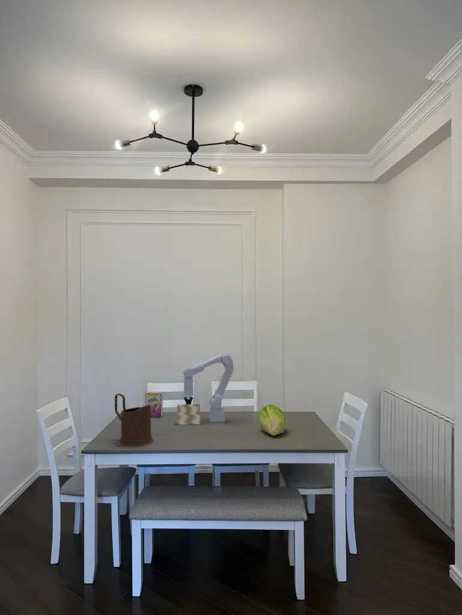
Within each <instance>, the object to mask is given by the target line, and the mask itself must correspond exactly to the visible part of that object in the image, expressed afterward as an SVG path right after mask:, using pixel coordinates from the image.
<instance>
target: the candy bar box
mask: <svg viewBox="0 0 462 615" xmlns="http://www.w3.org/2000/svg"><path fill="white" fill-rule="evenodd" d="M163 394H164V393H163V391H146V392H145V393H144V402H145V403H144V406H146V405H151V418H162V417H164V416H163V415H164V414H163V413H164V412H163V411H164V409H163V408H164V407H163V405H164V404H163V403H164V400H163V398H164V397H163V396H164V395H163Z"/></svg>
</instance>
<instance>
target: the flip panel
mask: <svg viewBox="0 0 462 615" xmlns="http://www.w3.org/2000/svg"><path fill="white" fill-rule="evenodd" d="M176 406H177V407H176V409H177V410H176V422H177V425H179V426H182V425H183V426H184V425H185V426H186V425H201V404H200V403H191V404H186V403H185V404H176ZM177 425H176V426H177Z"/></svg>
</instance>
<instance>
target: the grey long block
mask: <svg viewBox="0 0 462 615" xmlns="http://www.w3.org/2000/svg"><path fill="white" fill-rule="evenodd" d="M203 423H204V421H203V420H200V425H203ZM174 426H177V421H174Z"/></svg>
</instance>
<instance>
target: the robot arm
mask: <svg viewBox="0 0 462 615" xmlns="http://www.w3.org/2000/svg"><path fill="white" fill-rule="evenodd" d="M214 364H222V365H223V367H224V369H225V370H224V372H223V374H222V376H221V378H220V381H219V384H218V385H217V388H216V391H215V392H214V393H213V395H212V397H211V398H210V399H209V405H210V407H209V421H210V422H211V423H219V422H223V424H225V422H226V421H225V420H226V418H225V417H226V416H225V408H222V407H221V406H222V401H223V396H224V393H225V391H226V389H227V387H228V385H229V382H230V380H231V377H232V374H233V373H234V370H235V369H234V360H233V358H232V356H231V355H230V354H228V353H224V352H223V353H221V354H218V355H215V356H214V357H212V358H209V359H208V360H206V361H204V362H199V361H198V362H196V363H195V364H192V365H190V366H189V367H185V368H184V370H183V372H182V374H183V393H182V394H181V396H182V397H183V399H184V402H185V404H192V402H193V399H194V397H193V396H194V378H193V377H194V375H197V374H199V373H201V372H203V371H204V370H205V368H208V367H210V366H212V365H214Z"/></svg>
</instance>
